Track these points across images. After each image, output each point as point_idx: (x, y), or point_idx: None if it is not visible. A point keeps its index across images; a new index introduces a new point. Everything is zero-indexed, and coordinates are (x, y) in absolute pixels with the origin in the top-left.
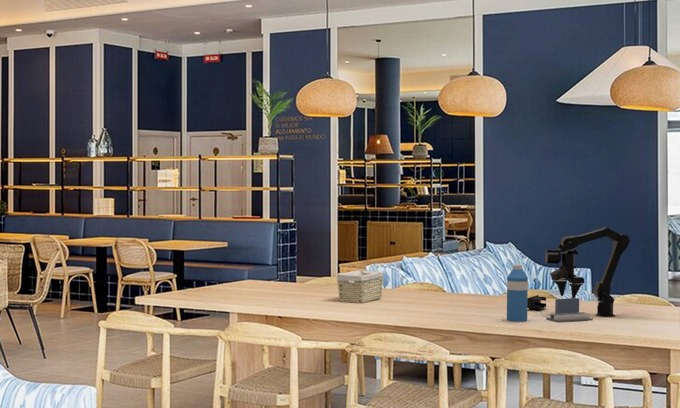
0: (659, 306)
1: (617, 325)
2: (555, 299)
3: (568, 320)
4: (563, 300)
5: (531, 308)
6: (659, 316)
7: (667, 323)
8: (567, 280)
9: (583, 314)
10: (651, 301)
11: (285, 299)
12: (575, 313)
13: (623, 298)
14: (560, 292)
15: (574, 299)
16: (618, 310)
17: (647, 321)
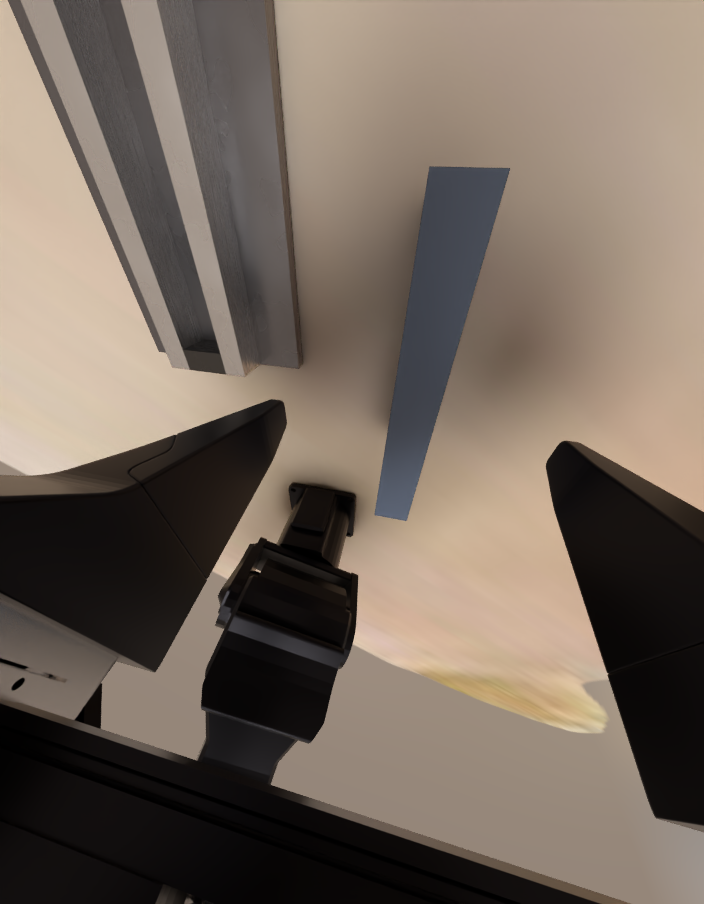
0: (417, 664)
1: (5, 347)
2: (503, 168)
3: (12, 2)
4: (404, 329)
5: None
6: None
7: None
8: (347, 837)
9: (152, 309)
10: (489, 694)
11: None
12: (202, 276)
13: (580, 710)
14: (606, 469)
15: (381, 473)
16: (419, 603)
17: None
